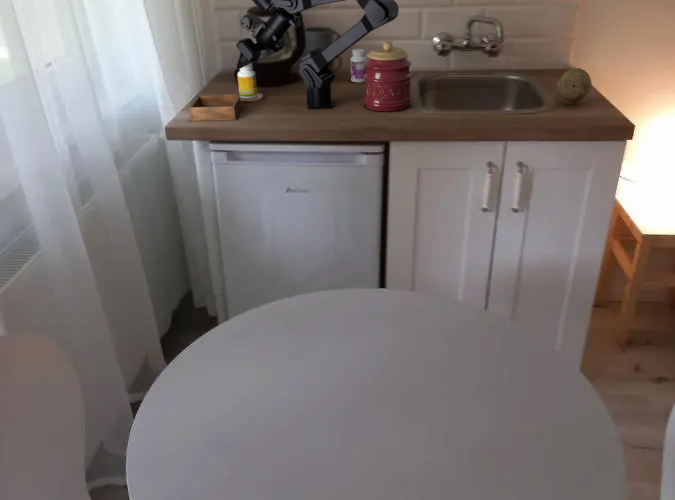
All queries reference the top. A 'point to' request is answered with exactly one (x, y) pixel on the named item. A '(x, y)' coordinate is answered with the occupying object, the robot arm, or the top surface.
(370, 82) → the kitchen canister
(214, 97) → the wooden tray
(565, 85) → the natural sponge
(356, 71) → the pill bottle
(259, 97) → the coaster
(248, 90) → the supplement bottle
